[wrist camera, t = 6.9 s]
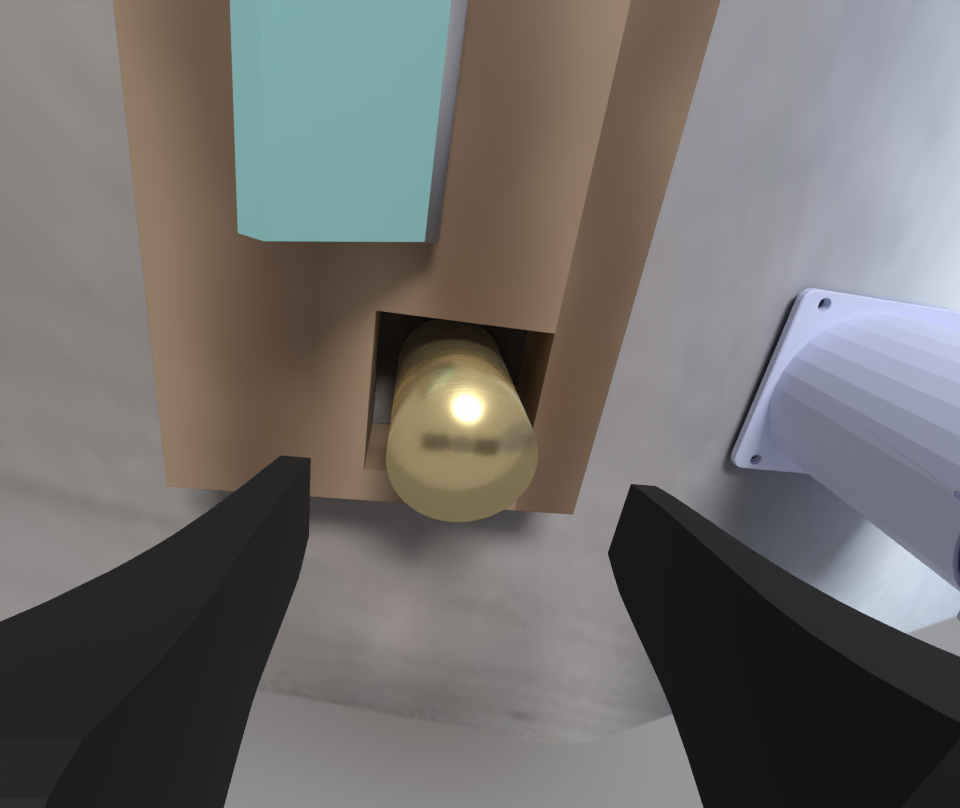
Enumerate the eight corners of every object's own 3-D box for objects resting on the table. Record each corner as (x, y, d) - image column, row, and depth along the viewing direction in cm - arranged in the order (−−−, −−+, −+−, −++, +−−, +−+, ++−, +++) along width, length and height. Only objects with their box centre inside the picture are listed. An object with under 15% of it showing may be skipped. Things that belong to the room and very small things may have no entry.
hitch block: (662, 22, 15) (725, -18, 12) (550, 464, 22) (572, 514, 19) (171, -98, 13) (92, -185, 10) (208, 435, 19) (166, 486, 16)
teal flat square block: (446, -31, 12) (481, -34, 11) (417, 235, 14) (446, 242, 14) (219, -197, 7) (261, -213, 7) (235, 231, 10) (267, 242, 9)
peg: (509, 324, 19) (553, 400, 13) (491, 418, 20) (521, 527, 14) (403, 309, 18) (393, 381, 12) (393, 407, 20) (379, 516, 14)
